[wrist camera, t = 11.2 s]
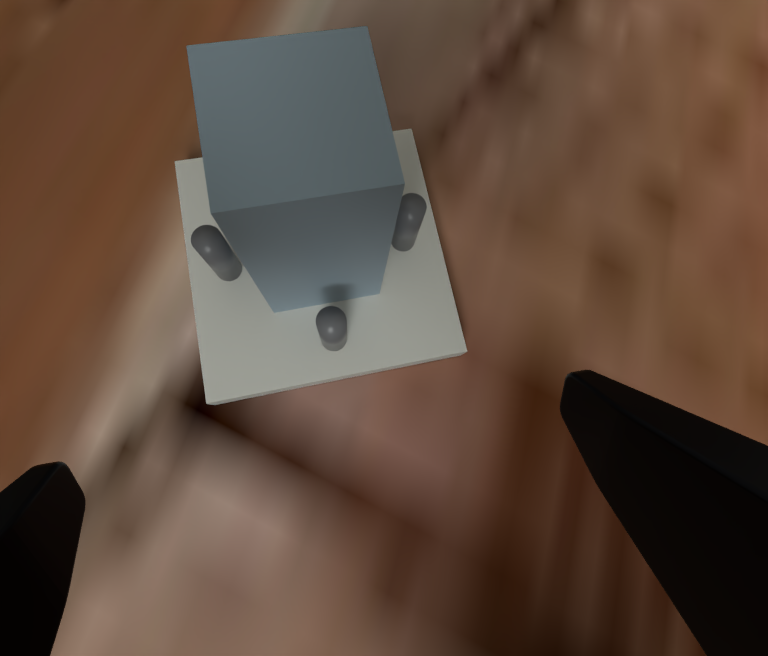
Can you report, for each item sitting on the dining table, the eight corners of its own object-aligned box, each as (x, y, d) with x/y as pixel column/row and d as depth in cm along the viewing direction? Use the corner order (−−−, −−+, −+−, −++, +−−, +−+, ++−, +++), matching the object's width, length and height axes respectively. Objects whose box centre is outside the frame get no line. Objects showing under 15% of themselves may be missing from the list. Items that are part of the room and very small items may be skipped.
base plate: (460, 355, 23) (489, 336, 18) (214, 405, 21) (177, 398, 17) (408, 142, 25) (422, 78, 20) (183, 174, 24) (143, 113, 19)
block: (379, 293, 22) (405, 183, 12) (273, 312, 21) (210, 213, 11) (358, 199, 23) (367, 26, 13) (257, 214, 22) (186, 45, 12)
